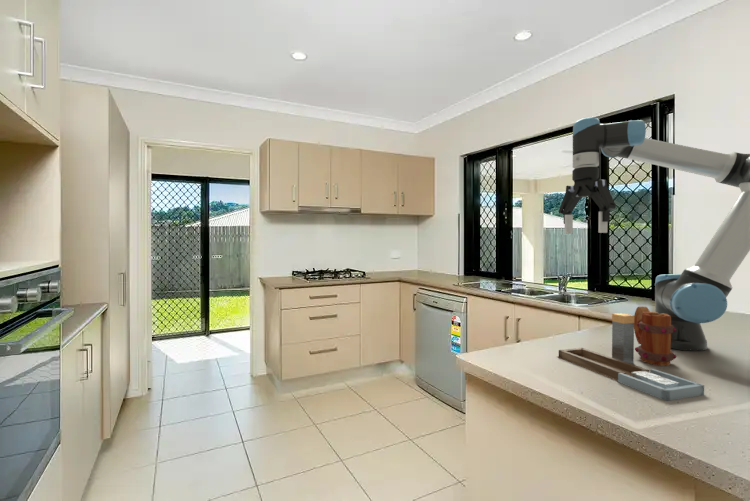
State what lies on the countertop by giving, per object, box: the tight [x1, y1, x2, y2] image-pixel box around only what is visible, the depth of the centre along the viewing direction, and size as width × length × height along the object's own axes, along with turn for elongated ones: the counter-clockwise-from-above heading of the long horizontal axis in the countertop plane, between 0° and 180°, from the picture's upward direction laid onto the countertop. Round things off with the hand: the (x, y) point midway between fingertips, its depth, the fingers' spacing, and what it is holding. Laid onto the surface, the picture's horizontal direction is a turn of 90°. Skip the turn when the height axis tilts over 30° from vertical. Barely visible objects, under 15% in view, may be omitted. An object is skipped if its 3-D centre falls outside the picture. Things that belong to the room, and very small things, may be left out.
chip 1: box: [631, 371, 661, 382], centre depth 87 cm, size 4×4×2 cm
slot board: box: [556, 347, 650, 382], centre depth 99 cm, size 10×20×3 cm, turn 16°
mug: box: [633, 306, 677, 367], centre depth 105 cm, size 15×8×15 cm, turn 168°
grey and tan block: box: [611, 312, 635, 364], centre depth 102 cm, size 4×4×14 cm
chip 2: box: [647, 377, 679, 389], centre depth 83 cm, size 4×4×2 cm
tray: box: [617, 368, 705, 402], centre depth 84 cm, size 11×11×3 cm
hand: (584, 233), depth 121 cm, fingers open, 13 cm apart
